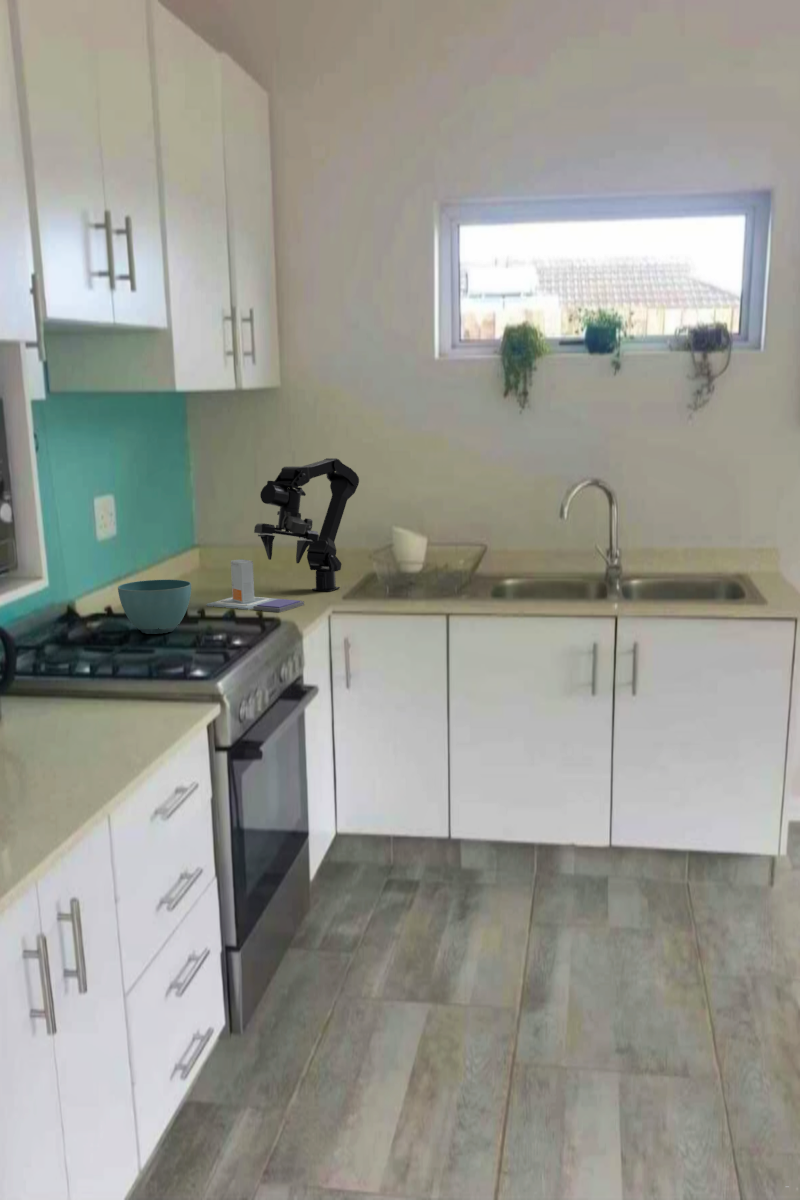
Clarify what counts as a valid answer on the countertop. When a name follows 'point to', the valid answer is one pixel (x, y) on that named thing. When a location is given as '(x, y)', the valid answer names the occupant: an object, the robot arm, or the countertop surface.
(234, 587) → the skincare box
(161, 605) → the teal bowl
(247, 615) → the countertop surface
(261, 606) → the ink pad
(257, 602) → the board
